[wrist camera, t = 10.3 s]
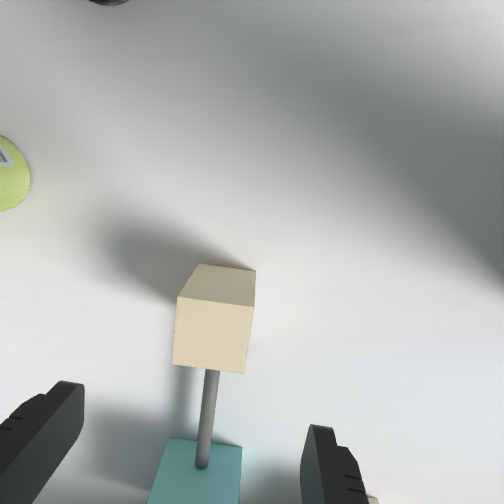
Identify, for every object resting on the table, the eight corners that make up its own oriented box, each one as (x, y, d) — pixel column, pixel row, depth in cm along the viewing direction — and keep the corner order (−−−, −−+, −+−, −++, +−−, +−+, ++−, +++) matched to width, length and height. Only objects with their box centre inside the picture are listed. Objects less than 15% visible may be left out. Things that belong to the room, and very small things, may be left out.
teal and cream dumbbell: (184, 261, 23) (158, 294, 17) (270, 273, 23) (273, 310, 17) (163, 494, 28) (138, 579, 22) (233, 503, 28) (226, 591, 22)
